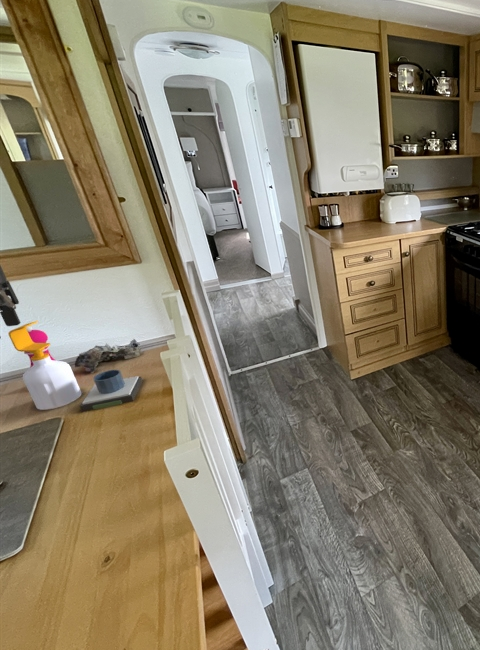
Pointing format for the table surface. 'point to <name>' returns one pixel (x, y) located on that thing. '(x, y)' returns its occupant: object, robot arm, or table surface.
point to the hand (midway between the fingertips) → (4, 332)
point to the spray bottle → (45, 373)
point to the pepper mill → (38, 341)
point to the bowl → (109, 381)
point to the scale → (112, 395)
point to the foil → (106, 354)
